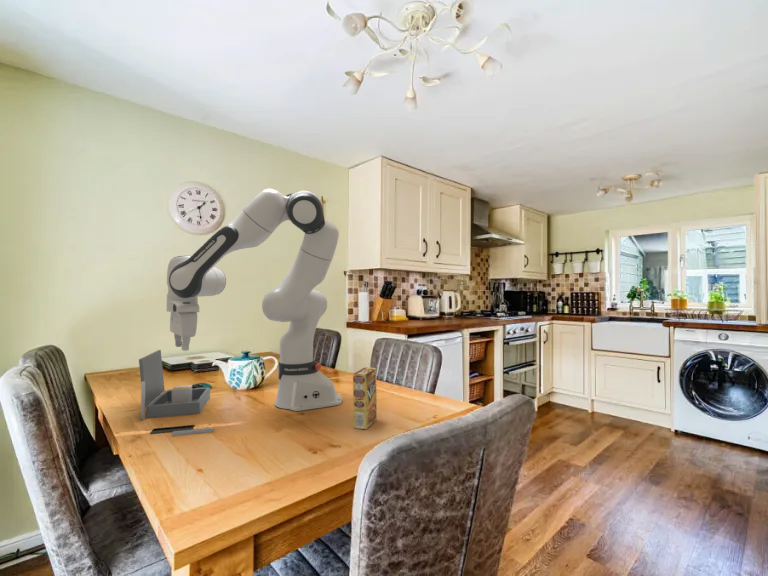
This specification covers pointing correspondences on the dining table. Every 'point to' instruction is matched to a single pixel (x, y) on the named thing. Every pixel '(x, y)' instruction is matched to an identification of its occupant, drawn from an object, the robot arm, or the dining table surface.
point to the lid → (152, 376)
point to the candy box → (364, 398)
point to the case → (174, 404)
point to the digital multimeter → (201, 386)
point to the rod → (192, 431)
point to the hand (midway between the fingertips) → (181, 348)
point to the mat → (171, 429)
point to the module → (182, 394)
